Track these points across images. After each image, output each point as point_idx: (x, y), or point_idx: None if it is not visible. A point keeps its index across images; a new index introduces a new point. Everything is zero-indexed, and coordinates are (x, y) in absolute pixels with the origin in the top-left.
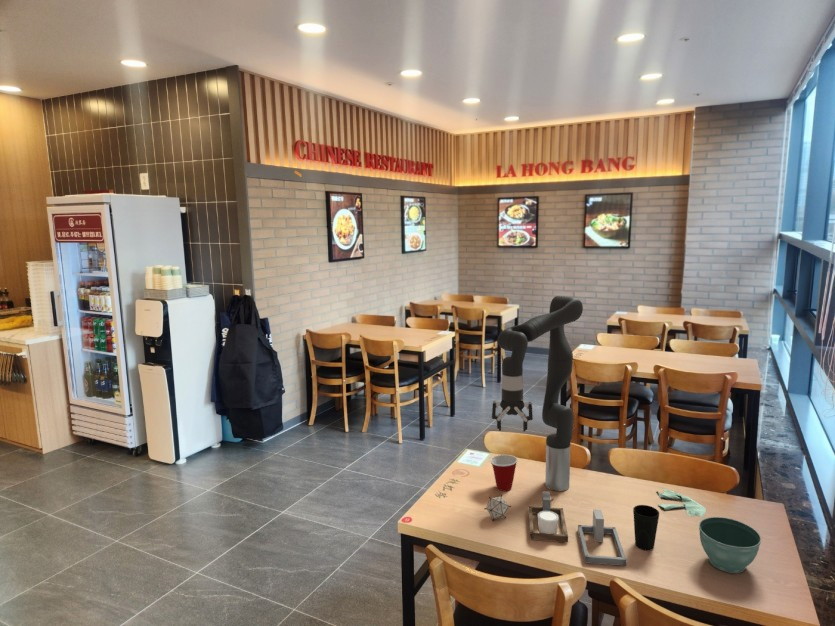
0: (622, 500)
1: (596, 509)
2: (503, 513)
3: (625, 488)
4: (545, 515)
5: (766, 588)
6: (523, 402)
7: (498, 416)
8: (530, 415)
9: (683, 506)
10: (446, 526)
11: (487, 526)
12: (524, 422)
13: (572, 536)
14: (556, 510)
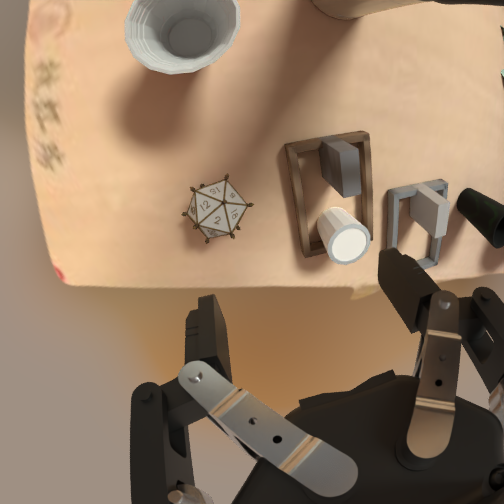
0: (463, 53)
1: (443, 203)
2: (237, 224)
3: (465, 6)
4: (344, 244)
5: None
6: (500, 446)
7: (212, 422)
8: (479, 356)
9: None
10: (127, 269)
11: (205, 238)
12: (416, 328)
13: (376, 211)
14: (354, 141)
